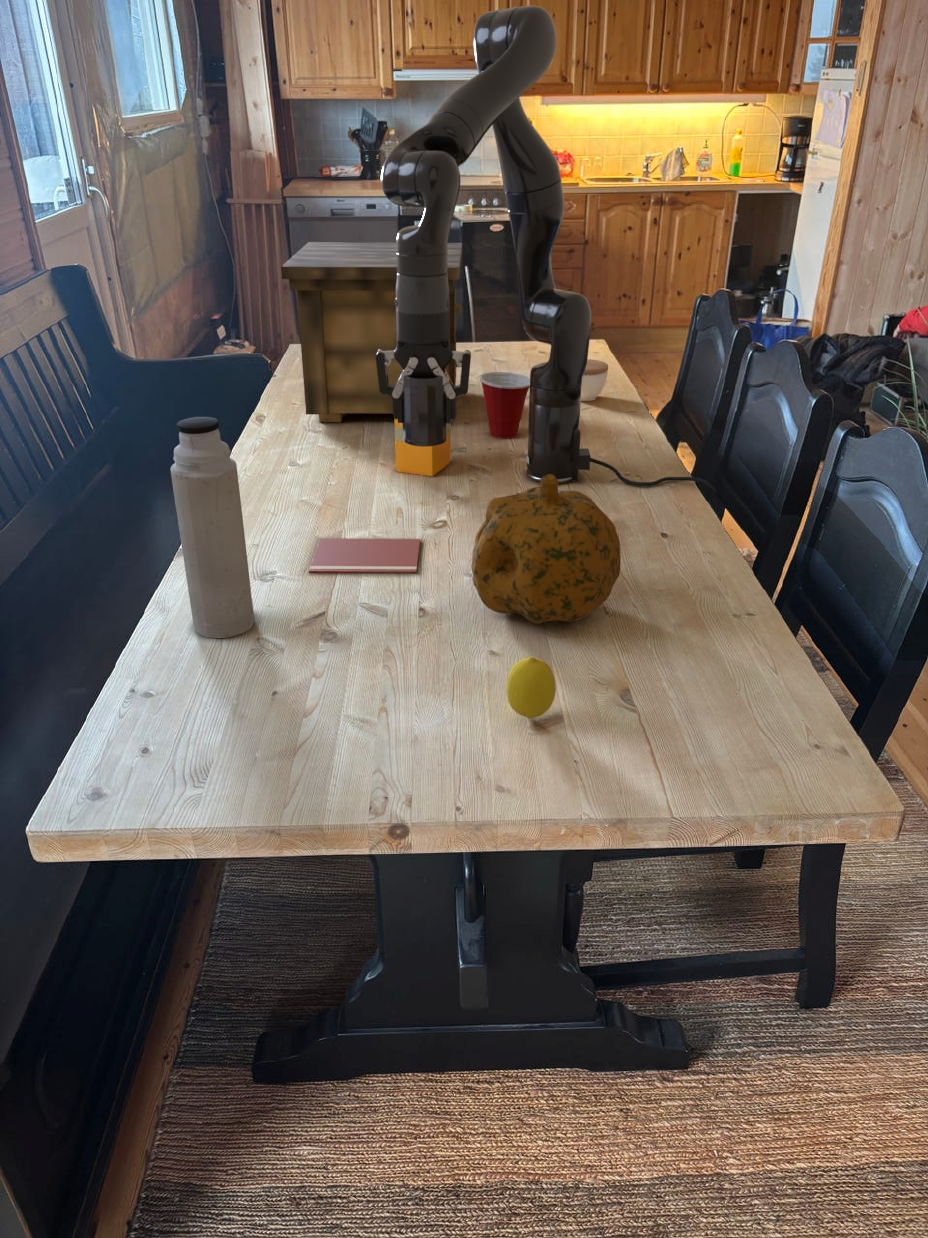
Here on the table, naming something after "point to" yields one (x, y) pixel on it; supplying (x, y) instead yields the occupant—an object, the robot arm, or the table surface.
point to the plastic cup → (504, 401)
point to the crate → (352, 322)
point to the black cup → (424, 411)
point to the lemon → (531, 687)
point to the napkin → (366, 556)
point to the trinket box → (593, 379)
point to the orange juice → (420, 454)
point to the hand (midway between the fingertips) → (424, 421)
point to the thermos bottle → (211, 530)
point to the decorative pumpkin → (545, 554)
